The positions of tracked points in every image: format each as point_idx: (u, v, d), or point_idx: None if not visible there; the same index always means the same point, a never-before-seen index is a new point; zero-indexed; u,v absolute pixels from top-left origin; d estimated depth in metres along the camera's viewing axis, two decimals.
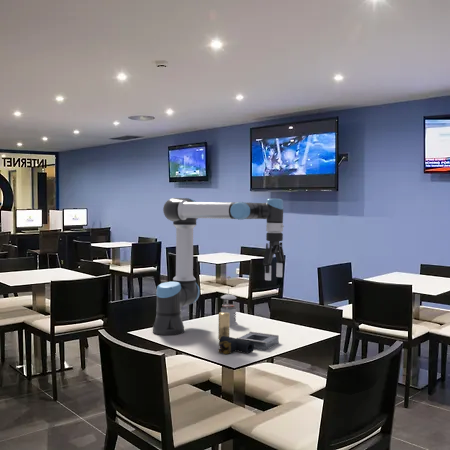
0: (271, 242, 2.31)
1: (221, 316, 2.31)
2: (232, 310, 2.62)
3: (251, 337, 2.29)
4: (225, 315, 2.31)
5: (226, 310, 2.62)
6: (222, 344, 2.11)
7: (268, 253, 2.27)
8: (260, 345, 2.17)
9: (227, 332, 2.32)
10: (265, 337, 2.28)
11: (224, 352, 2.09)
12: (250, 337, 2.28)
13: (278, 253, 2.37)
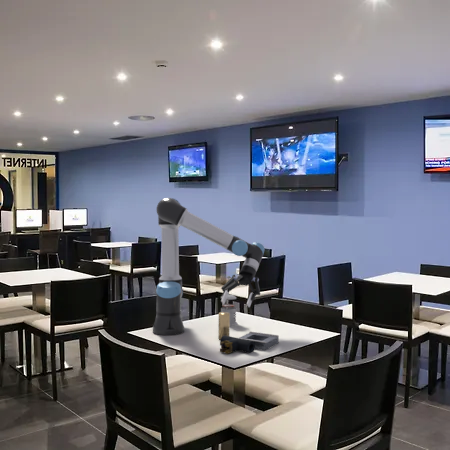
0: (253, 277, 2.51)
1: (221, 316, 2.31)
2: (232, 310, 2.62)
3: (251, 337, 2.29)
4: (225, 315, 2.31)
5: (226, 310, 2.62)
6: (223, 344, 2.12)
7: (258, 285, 2.46)
8: (260, 345, 2.17)
9: (227, 332, 2.32)
10: (265, 337, 2.28)
11: (225, 352, 2.10)
12: (250, 337, 2.28)
13: (237, 285, 2.51)
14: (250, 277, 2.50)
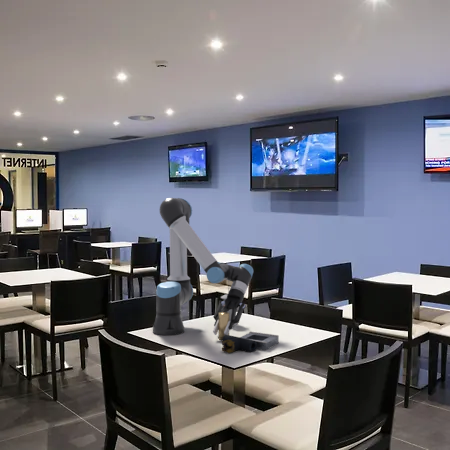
0: (241, 301, 2.39)
1: (221, 316, 2.31)
2: None
3: (251, 337, 2.29)
4: (225, 315, 2.31)
5: None
6: (225, 343, 2.13)
7: (241, 313, 2.35)
8: (260, 345, 2.17)
9: None
10: (265, 337, 2.28)
11: (228, 351, 2.11)
12: (250, 337, 2.28)
13: (226, 311, 2.39)
14: (238, 301, 2.39)
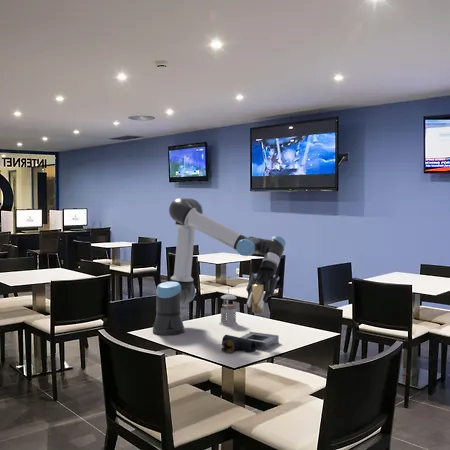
0: None
1: (255, 287, 2.23)
2: (232, 310, 2.62)
3: (251, 337, 2.29)
4: (259, 286, 2.23)
5: (226, 310, 2.62)
6: (225, 343, 2.13)
7: (275, 285, 2.27)
8: (260, 345, 2.17)
9: None
10: (265, 337, 2.28)
11: (227, 351, 2.11)
12: (250, 337, 2.28)
13: (259, 283, 2.31)
14: (271, 273, 2.30)
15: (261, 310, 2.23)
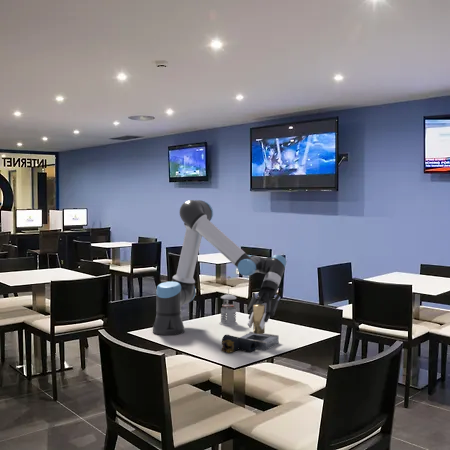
0: None
1: (256, 308, 2.23)
2: (232, 310, 2.62)
3: (251, 337, 2.29)
4: (260, 307, 2.23)
5: (226, 310, 2.62)
6: (225, 343, 2.13)
7: (276, 305, 2.27)
8: (260, 345, 2.17)
9: None
10: (265, 337, 2.28)
11: (227, 351, 2.11)
12: (250, 337, 2.28)
13: (261, 303, 2.31)
14: (272, 293, 2.30)
15: (262, 331, 2.23)
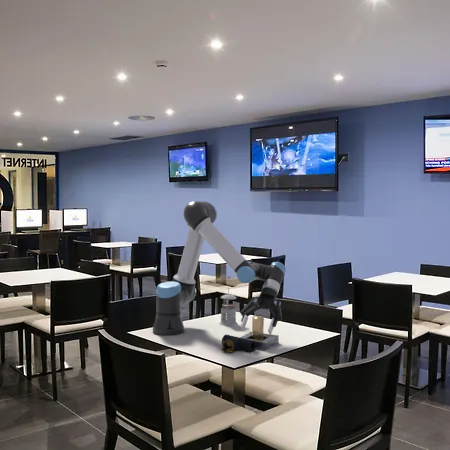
0: (274, 300, 2.32)
1: (255, 320, 2.23)
2: (232, 310, 2.62)
3: (251, 337, 2.29)
4: (259, 319, 2.23)
5: (226, 310, 2.62)
6: (225, 343, 2.13)
7: (280, 310, 2.27)
8: (260, 345, 2.17)
9: (261, 337, 2.24)
10: (265, 337, 2.28)
11: (227, 351, 2.11)
12: (250, 337, 2.28)
13: (257, 309, 2.32)
14: (271, 300, 2.31)
15: None
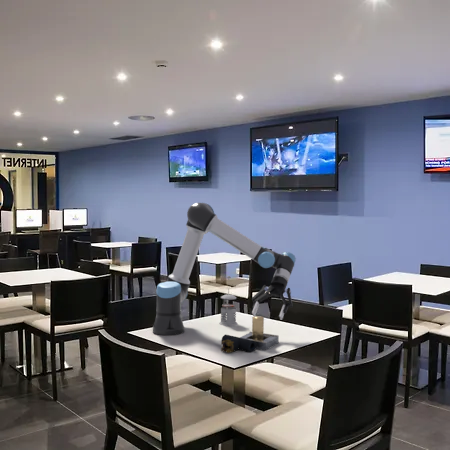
0: (284, 288, 2.43)
1: (255, 320, 2.23)
2: (232, 310, 2.62)
3: (251, 337, 2.29)
4: (259, 319, 2.23)
5: (226, 310, 2.62)
6: (225, 343, 2.13)
7: None
8: (260, 345, 2.17)
9: (261, 337, 2.24)
10: (265, 337, 2.28)
11: (227, 351, 2.11)
12: (250, 337, 2.28)
13: (267, 296, 2.44)
14: (282, 288, 2.42)
15: None
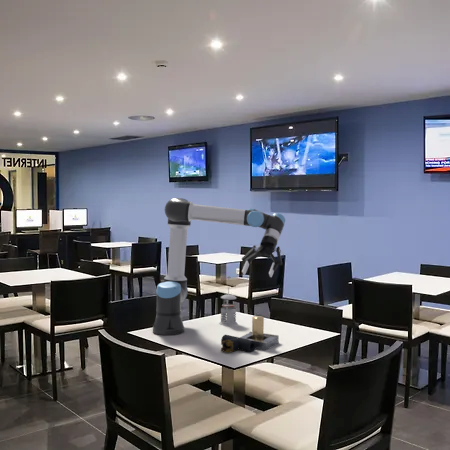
0: (274, 247, 2.43)
1: (255, 320, 2.23)
2: (232, 310, 2.62)
3: (251, 337, 2.29)
4: (259, 319, 2.23)
5: (226, 310, 2.62)
6: (224, 343, 2.13)
7: (280, 256, 2.38)
8: (260, 345, 2.17)
9: (261, 337, 2.24)
10: (265, 337, 2.28)
11: (227, 351, 2.11)
12: (250, 337, 2.28)
13: (257, 256, 2.44)
14: (271, 247, 2.42)
15: None
